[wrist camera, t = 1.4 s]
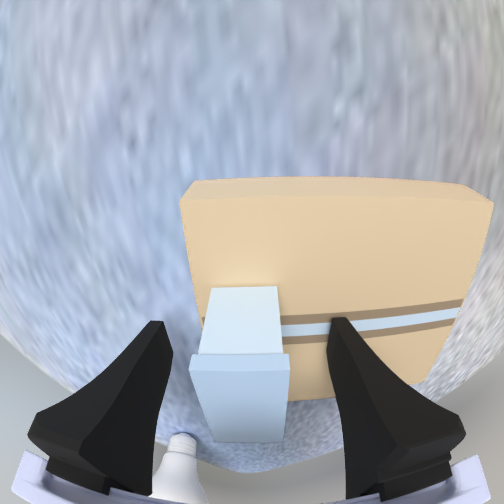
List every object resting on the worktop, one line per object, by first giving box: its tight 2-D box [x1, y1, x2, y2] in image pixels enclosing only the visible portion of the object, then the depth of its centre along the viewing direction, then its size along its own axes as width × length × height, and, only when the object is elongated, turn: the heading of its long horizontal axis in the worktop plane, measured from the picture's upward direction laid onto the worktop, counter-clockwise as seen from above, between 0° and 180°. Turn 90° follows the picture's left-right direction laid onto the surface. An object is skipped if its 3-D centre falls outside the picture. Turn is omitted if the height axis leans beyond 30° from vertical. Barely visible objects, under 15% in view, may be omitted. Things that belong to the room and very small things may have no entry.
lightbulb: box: [148, 433, 209, 504], centre depth 18 cm, size 6×6×11 cm
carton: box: [179, 176, 494, 401], centre depth 13 cm, size 13×12×3 cm
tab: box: [189, 286, 290, 443], centre depth 11 cm, size 3×5×4 cm, turn 3°
